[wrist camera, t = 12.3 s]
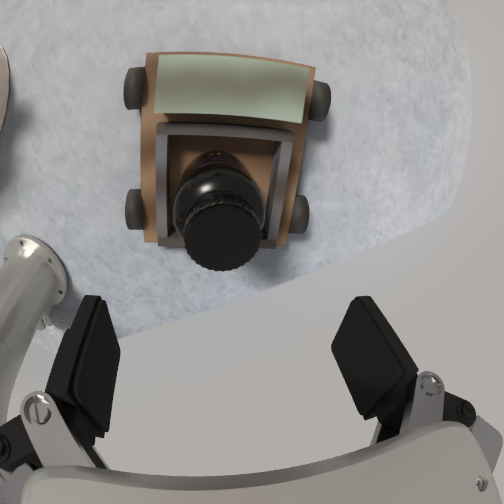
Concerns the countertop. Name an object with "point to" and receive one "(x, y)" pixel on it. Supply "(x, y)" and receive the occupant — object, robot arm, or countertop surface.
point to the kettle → (3, 84)
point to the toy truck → (222, 132)
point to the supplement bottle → (219, 211)
